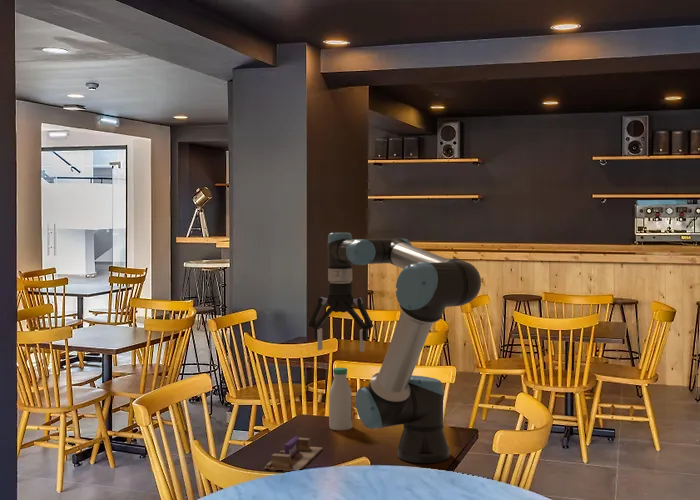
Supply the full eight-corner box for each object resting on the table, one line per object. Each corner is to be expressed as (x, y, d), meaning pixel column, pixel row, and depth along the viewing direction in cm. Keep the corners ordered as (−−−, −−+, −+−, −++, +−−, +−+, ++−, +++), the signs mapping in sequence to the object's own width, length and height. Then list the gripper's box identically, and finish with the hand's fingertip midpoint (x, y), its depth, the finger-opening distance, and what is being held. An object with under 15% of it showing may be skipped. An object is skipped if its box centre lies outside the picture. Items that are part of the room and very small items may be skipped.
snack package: (288, 462, 217) (287, 445, 217) (281, 462, 218) (281, 444, 218) (301, 451, 228) (300, 434, 228) (294, 450, 229) (294, 434, 229)
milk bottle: (350, 431, 252) (349, 370, 251) (327, 430, 253) (326, 370, 253) (354, 425, 260) (353, 366, 259) (331, 424, 261) (331, 366, 260)
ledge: (291, 447, 235) (291, 435, 235) (322, 449, 232) (322, 437, 232) (264, 469, 213) (264, 456, 213) (298, 472, 211) (298, 459, 211)
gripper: (298, 282, 238) (299, 350, 239) (376, 283, 232) (377, 353, 232) (305, 280, 245) (306, 347, 246) (382, 281, 239) (382, 349, 240)
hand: (340, 350), depth 239 cm, fingers open, 13 cm apart
